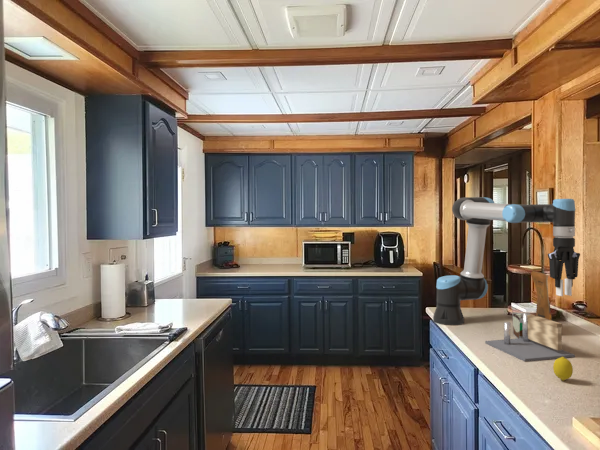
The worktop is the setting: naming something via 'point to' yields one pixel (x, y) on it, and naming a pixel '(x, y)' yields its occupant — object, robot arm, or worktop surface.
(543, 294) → the pancake mix bag
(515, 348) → the mat
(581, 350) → the worktop surface
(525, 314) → the posts
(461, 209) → the robot arm
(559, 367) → the lemon
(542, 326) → the light wood flat slab
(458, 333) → the worktop surface
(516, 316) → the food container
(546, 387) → the worktop surface
